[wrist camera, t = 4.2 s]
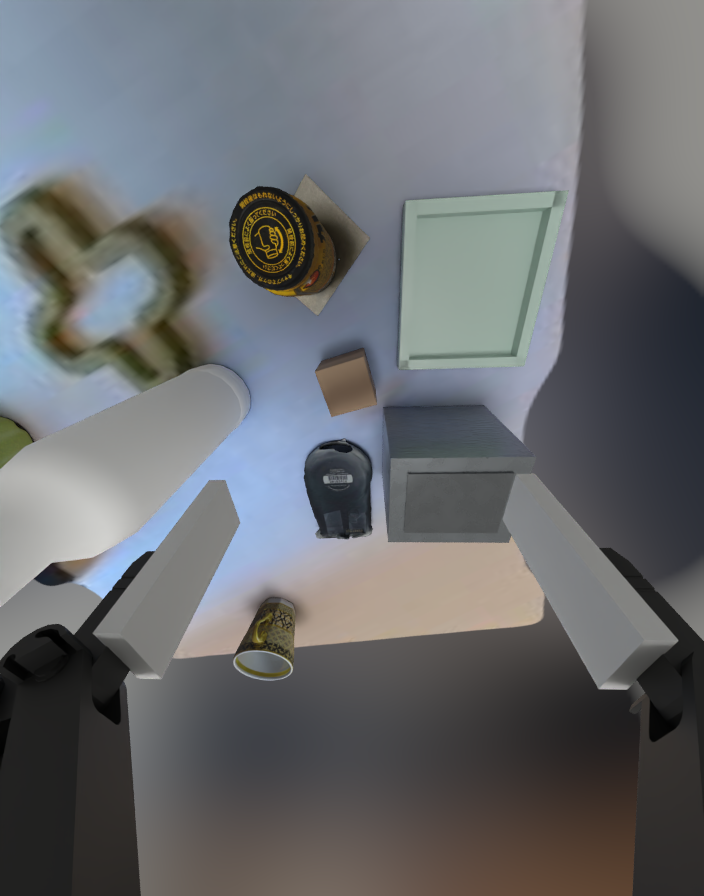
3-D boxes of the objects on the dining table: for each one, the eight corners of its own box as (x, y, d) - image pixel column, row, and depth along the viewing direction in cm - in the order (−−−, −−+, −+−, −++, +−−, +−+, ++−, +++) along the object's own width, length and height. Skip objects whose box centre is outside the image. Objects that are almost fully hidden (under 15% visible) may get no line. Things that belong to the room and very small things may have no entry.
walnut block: (321, 360, 32) (314, 371, 28) (363, 347, 31) (363, 356, 27) (335, 400, 35) (331, 416, 30) (375, 389, 34) (377, 404, 29)
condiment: (258, 265, 28) (194, 251, 18) (305, 174, 25) (262, 89, 14) (318, 316, 30) (292, 330, 20) (369, 238, 27) (373, 205, 16)
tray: (403, 206, 25) (405, 200, 24) (554, 197, 25) (568, 190, 23) (397, 365, 32) (399, 370, 30) (515, 362, 31) (524, 366, 30)
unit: (383, 407, 35) (391, 459, 24) (483, 405, 34) (537, 458, 23) (382, 477, 40) (388, 546, 29) (469, 476, 39) (508, 546, 28)
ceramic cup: (307, 622, 58) (297, 681, 49) (259, 622, 59) (241, 680, 50) (296, 581, 52) (283, 640, 43) (243, 581, 52) (219, 640, 44)
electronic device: (378, 513, 45) (370, 437, 36) (374, 544, 41) (365, 466, 32) (322, 511, 47) (301, 437, 38) (313, 539, 43) (288, 465, 34)
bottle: (205, 430, 37) (-176, 763, 11) (174, 371, 34) (-507, 660, 7) (261, 418, 36) (-14, 759, 10) (236, 356, 32) (-308, 636, 6)
